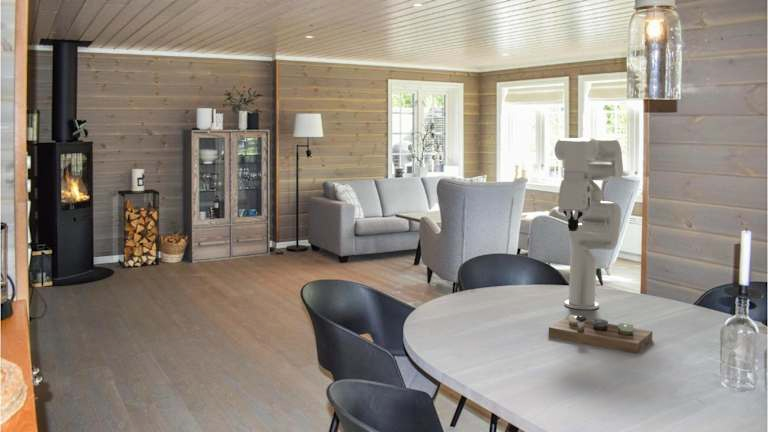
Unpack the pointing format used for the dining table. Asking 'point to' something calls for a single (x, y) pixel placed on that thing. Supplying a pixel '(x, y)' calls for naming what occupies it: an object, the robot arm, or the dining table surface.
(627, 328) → the knob sage
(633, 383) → the dining table surface
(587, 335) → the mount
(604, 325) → the knob charcoal
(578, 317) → the dial post
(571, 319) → the knob cream
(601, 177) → the robot arm
